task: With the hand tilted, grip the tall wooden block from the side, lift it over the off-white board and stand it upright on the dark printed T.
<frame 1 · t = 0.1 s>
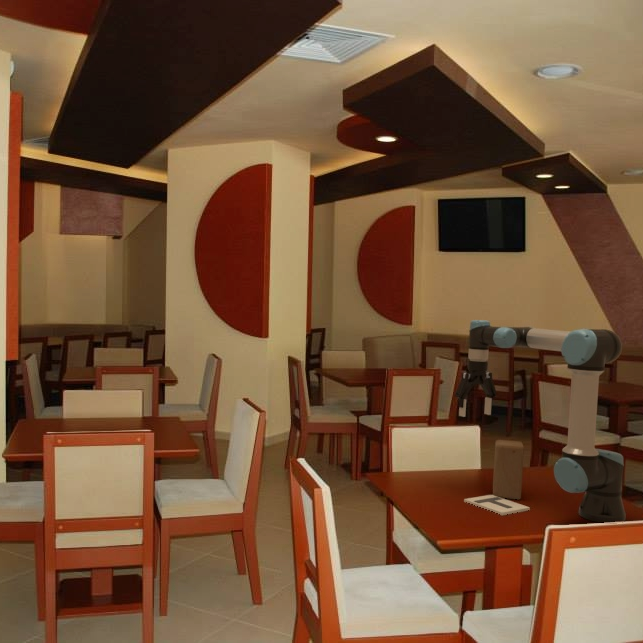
hand: (475, 415, 299), 28 cm above the table, tool pointing down, fingers open, 13 cm apart
wooden block: (506, 496, 290), on the table
letter board: (496, 506, 275), on the table
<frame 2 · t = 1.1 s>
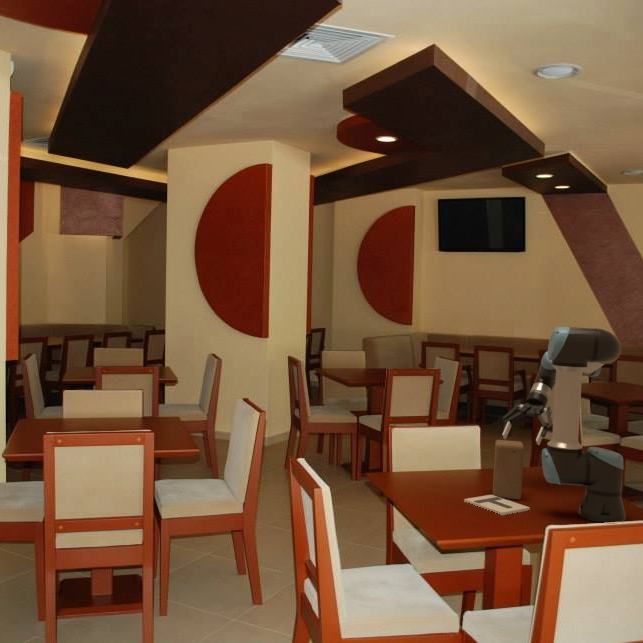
hand: (520, 439, 296), 20 cm above the table, tool tilted 45°, fingers open, 13 cm apart
nothing on the table moved.
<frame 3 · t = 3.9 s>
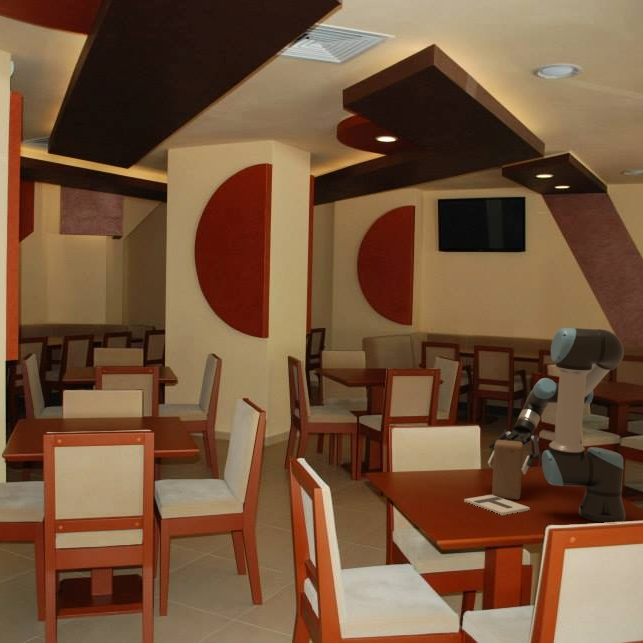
hand: (506, 468, 288), 10 cm above the table, tool tilted 45°, fingers open, 13 cm apart
wooden block: (506, 496, 289), on the table, touching gripper
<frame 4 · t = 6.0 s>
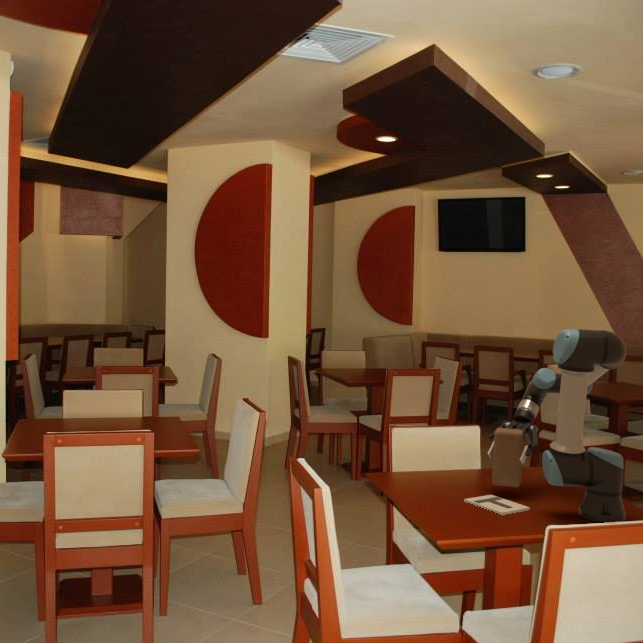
hand: (505, 459, 287), 14 cm above the table, tool tilted 45°, fingers closed on wooden block, 12 cm apart
wooden block: (506, 484, 289), point 4 cm above the table, touching gripper
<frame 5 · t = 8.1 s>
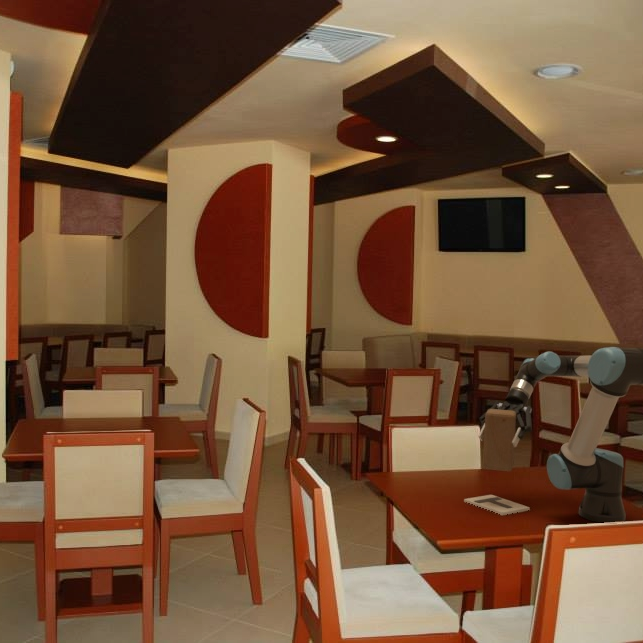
hand: (496, 441, 272), 23 cm above the table, tool tilted 45°, fingers closed on wooden block, 12 cm apart
wooden block: (498, 468, 274), point 14 cm above the table, touching gripper
when the fingers open (12 cm above the table, at t = 11.4 s): wooden block drops 1 cm, resting on letter board.
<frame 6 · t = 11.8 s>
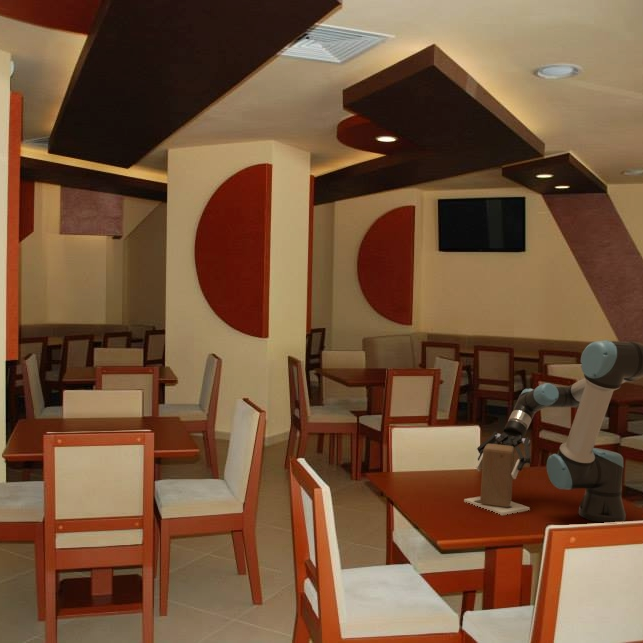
hand: (495, 473, 273), 12 cm above the table, tool tilted 45°, fingers open, 13 cm apart
wooden block: (495, 503, 275), point 1 cm above the table, touching letter board
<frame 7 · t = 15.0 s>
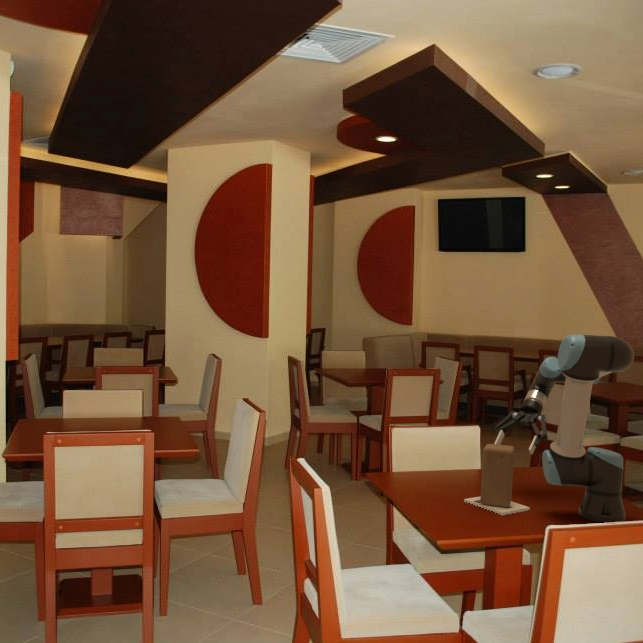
hand: (513, 449, 283), 19 cm above the table, tool tilted 45°, fingers open, 13 cm apart
nothing on the table moved.
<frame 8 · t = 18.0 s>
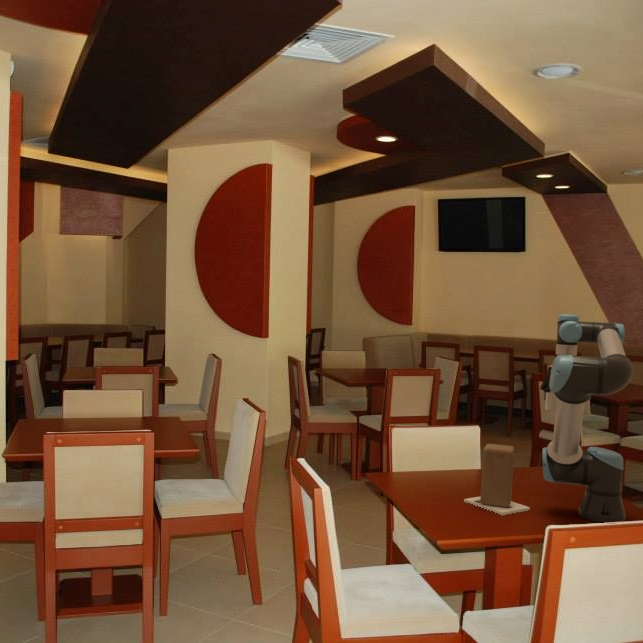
hand: (562, 412, 291), 32 cm above the table, tool pointing down, fingers open, 13 cm apart
nothing on the table moved.
at the end: wooden block inside the target area on the letter board (0.3 cm from its centre), point 1.0 cm above the letter board's base; wooden block tilted 0°; the gripper is holding nothing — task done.
